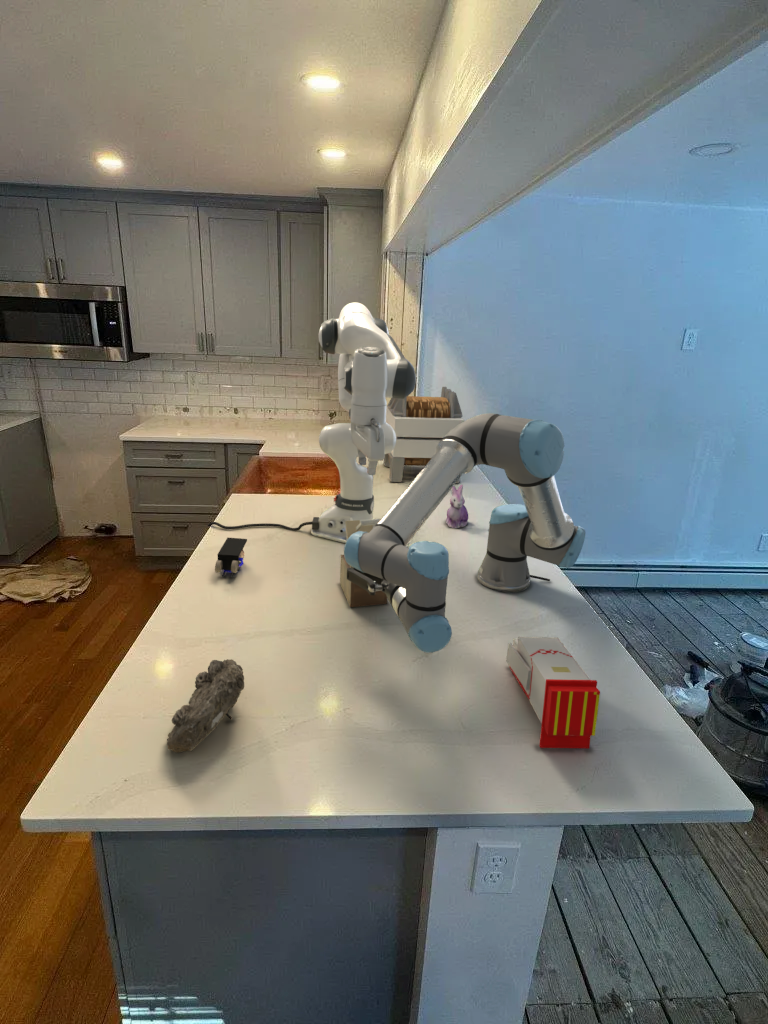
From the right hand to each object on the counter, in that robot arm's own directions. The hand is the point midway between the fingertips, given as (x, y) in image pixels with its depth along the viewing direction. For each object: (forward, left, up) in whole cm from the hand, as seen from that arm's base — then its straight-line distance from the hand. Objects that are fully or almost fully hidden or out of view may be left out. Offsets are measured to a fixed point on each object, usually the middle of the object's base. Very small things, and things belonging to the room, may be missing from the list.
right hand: (380, 555), depth 136 cm
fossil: (+40, +26, -19) cm, 51 cm away
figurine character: (+34, -39, -19) cm, 55 cm away
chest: (0, -17, -19) cm, 25 cm away
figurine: (-47, -63, -19) cm, 81 cm away
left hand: (0, -17, +17) cm, 24 cm away
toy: (-26, +36, -19) cm, 48 cm away
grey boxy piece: (-56, -131, -19) cm, 144 cm away
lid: (0, -14, -4) cm, 15 cm away
